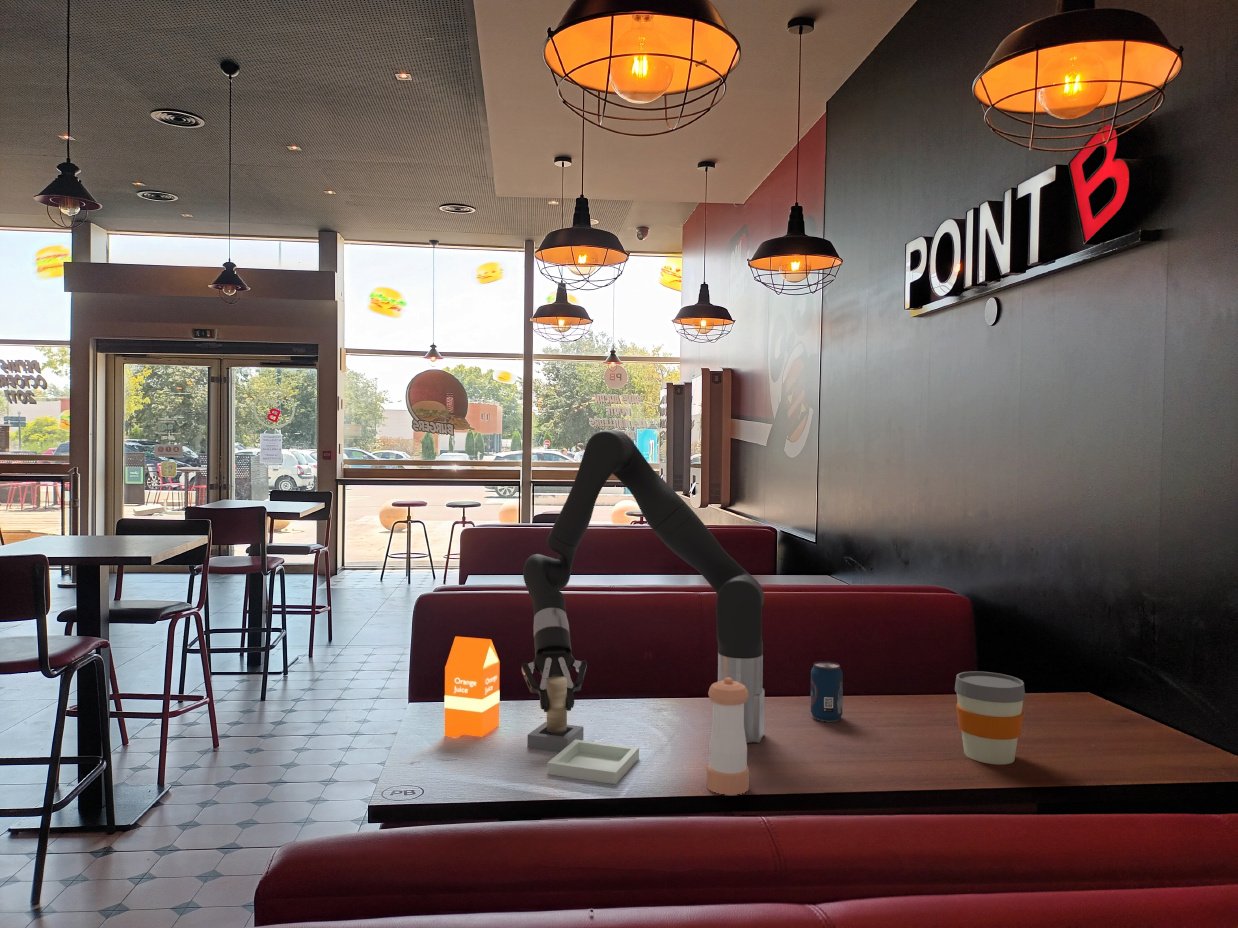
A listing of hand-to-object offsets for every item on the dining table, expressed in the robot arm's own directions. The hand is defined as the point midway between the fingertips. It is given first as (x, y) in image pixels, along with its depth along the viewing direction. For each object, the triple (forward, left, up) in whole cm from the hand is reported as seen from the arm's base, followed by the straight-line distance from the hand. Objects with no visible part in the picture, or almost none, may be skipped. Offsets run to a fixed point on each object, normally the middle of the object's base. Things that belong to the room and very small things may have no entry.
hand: (557, 708), depth 156 cm
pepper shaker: (-35, +5, -9) cm, 36 cm away
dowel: (+1, -2, -5) cm, 5 cm away
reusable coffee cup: (-80, -28, -9) cm, 85 cm away
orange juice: (+21, -4, -9) cm, 23 cm away
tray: (-10, +7, -8) cm, 15 cm away
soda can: (-48, -41, -9) cm, 63 cm away
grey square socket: (+1, -2, -8) cm, 9 cm away
